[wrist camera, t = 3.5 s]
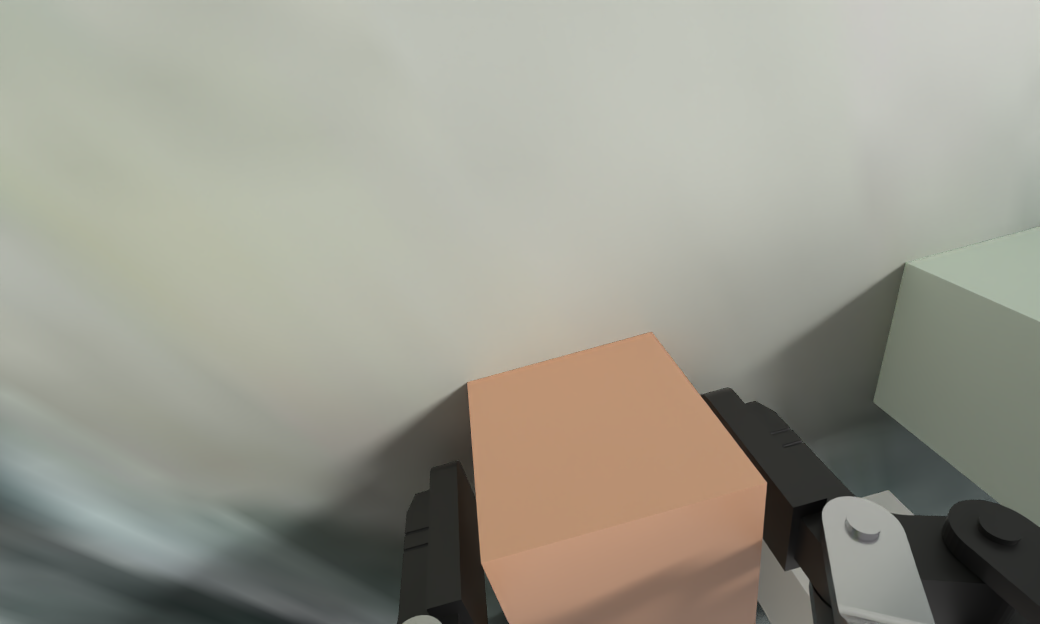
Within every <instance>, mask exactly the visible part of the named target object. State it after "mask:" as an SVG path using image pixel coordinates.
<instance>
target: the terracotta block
mask: <svg viewBox="0 0 1040 624" xmlns="http://www.w3.org/2000/svg"><path fill="white" fill-rule="evenodd" d="M467 387H468V400H469V413H470V426H471V439H472V452H473V465H474V478H475V491H476V504H477V517H478V530H479V543H480V556H481V564H482V566H483V569H484V571H485V573H486V575H487V577H488V579H489V581H490V584H491V586H492V588H493V590H494V592H495V594H496V597H497V599H498V601H499V603H500V605H501V607H502V609H503V612H504V614H505V616H506V618H507V620H508V622H509V624H755V622H756V610H757V598H758V586H759V574H760V562H761V550H762V538H763V526H764V514H765V502H766V490H767V482H766V481H765V479H764V478H763V477H762V475H761V474H760V473H759V471H758V470H757V469H756V468H755V466H754V465H753V464H752V462H751V461H750V460H749V458H748V457H747V456H746V454H745V453H744V452H743V451H742V449H741V448H740V447H739V445H738V444H737V443H736V441H735V440H734V439H733V437H732V436H731V435H730V434H729V432H728V431H727V430H726V428H725V427H724V426H723V424H722V423H721V422H720V420H719V419H718V418H717V417H716V415H715V414H714V413H713V411H712V410H711V409H710V407H709V406H708V405H707V403H706V402H705V401H704V400H703V398H702V397H701V396H700V394H699V393H698V392H697V390H696V389H695V388H694V386H693V385H692V384H691V383H690V381H689V380H688V379H687V377H686V376H685V375H684V373H683V372H682V371H681V369H680V368H679V367H678V366H677V364H676V363H675V362H674V360H673V359H672V358H671V356H670V355H669V354H668V352H667V351H666V350H665V349H664V347H663V346H662V345H661V343H660V342H659V341H658V339H657V338H656V337H655V335H654V334H653V333H652V332H649V333H646V334H642V335H638V336H635V337H631V338H627V339H624V340H620V341H616V342H613V343H609V344H605V345H602V346H598V347H594V348H591V349H587V350H583V351H580V352H576V353H572V354H569V355H565V356H561V357H558V358H554V359H550V360H547V361H543V362H539V363H536V364H532V365H528V366H525V367H521V368H518V369H514V370H510V371H507V372H503V373H499V374H496V375H492V376H488V377H485V378H481V379H477V380H474V381H470V382H467Z"/></svg>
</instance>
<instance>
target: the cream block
mask: <svg viewBox="0 0 1040 624" xmlns="http://www.w3.org/2000/svg"><path fill="white" fill-rule="evenodd" d="M862 498H863V499H866V500H869V501H872V502H874V503H876V504H878V505H880V506H882V507H883V508H885V509H886V510H888V511H889V512H890V513H894V514H901V515H914V514H913V513H912V512H911V511H910V510H908V509H907V508H906V507H905V506H904V505H903V504H902V503H901V502H900V501H899V500H898V499H897V498H896V497H895V496H894V495H893V494H892V493H891V492H890V491H889V490H887V491H883V492H880V493H876V494H873V495H869V496H866V497H862ZM809 581H810V580H809V579H808V577H807V576H806V575H805V573H804V572H803V570H802V569H801V567H799V568H796V569H792V570H789V571H784V570H783V568H782V567H781V565H780V564H779V562H778V561H777V559H776V558H775V556H774V555H773V553H772V552H771V550H770V549H769V547H768V546H767V544H766V543H765V541H764V540H763V538H762V550H761V562H760V574H759V586H758V598H757V600H758V602H759V603H760V605H761V607H762V608H763V610H764V612H765V614H766V615H767V617H768V619H769V621H770V622H771V624H813V616H812V609H811V602H810V594H809Z"/></svg>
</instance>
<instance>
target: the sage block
mask: <svg viewBox="0 0 1040 624" xmlns="http://www.w3.org/2000/svg"><path fill="white" fill-rule="evenodd" d="M873 403H875V404H876V405H877V406H878V407H880V408H881V409H882V410H883V411H885V412H886V413H887V414H888V415H890V416H891V417H892V418H893V419H895V420H896V421H897V422H898V423H900V424H901V425H902V426H904V427H905V428H906V429H907V430H909V431H910V432H911V433H912V434H914V435H915V436H916V437H917V438H919V439H920V440H921V441H922V442H924V443H925V444H926V445H927V446H929V447H930V448H931V449H932V450H934V451H935V452H936V453H937V454H939V455H940V456H941V457H942V458H944V459H945V460H946V461H947V462H949V463H950V464H951V465H952V466H954V467H955V468H956V469H957V470H959V471H960V472H961V473H962V474H964V475H965V476H966V477H967V478H969V479H970V480H971V481H972V482H974V483H975V484H976V485H977V486H979V487H980V488H981V489H982V490H984V491H985V492H986V493H987V494H989V495H990V496H991V497H992V498H994V499H995V500H996V501H997V502H999V503H1000V504H1001V505H1002V506H1005V507H1007V508H1010V509H1012V510H1014V511H1016V512H1018V513H1020V514H1021V515H1023V516H1024V517H1026V518H1027V519H1029V520H1030V521H1032V522H1033V523H1035V524H1036V525H1037V526H1039V527H1040V226H1039V227H1035V228H1032V229H1028V230H1024V231H1021V232H1017V233H1013V234H1010V235H1006V236H1002V237H998V238H995V239H991V240H987V241H984V242H980V243H976V244H972V245H969V246H965V247H961V248H958V249H954V250H950V251H946V252H943V253H939V254H935V255H932V256H928V257H924V258H921V259H917V260H913V261H909V262H906V264H905V268H904V272H903V277H902V281H901V285H900V289H899V294H898V298H897V302H896V306H895V311H894V315H893V319H892V323H891V328H890V332H889V336H888V340H887V345H886V349H885V353H884V357H883V362H882V366H881V370H880V374H879V379H878V383H877V387H876V391H875V396H874V400H873Z"/></svg>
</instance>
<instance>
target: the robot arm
mask: <svg viewBox="0 0 1040 624" xmlns="http://www.w3.org/2000/svg"><path fill="white" fill-rule="evenodd" d="M700 396H701V397H702V398H703V400H704V401H705V402H706V403H707V405H708V406H709V407H710V409H711V410H712V411H713V413H714V414H715V415H716V417H717V418H718V419H719V420H720V422H721V423H722V424H723V426H724V427H725V428H726V430H727V431H728V432H729V434H730V435H731V436H732V437H733V439H734V440H735V441H736V443H737V444H738V445H739V447H740V448H741V449H742V451H743V452H744V453H745V454H746V456H747V457H748V458H749V460H750V461H751V462H752V464H753V465H754V466H755V468H756V469H757V470H758V471H759V473H760V474H761V475H762V477H763V478H764V479H765V481H766V482H767V490H766V502H765V514H764V526H763V540H764V541H765V543H766V544H767V546H768V547H769V549H770V550H771V552H772V553H773V555H774V556H775V558H776V559H777V561H778V562H779V564H780V565H781V567H782V568H783V570H784V571H789V570H792V569H796V568H799V567H801V569H802V570H803V572H804V573H805V575H806V576H807V577H808V579H809V580H810V581H809V594H810V602H811V609H812V616H813V624H1040V527H1039V526H1037V525H1036V524H1035V523H1033V522H1032V521H1030V520H1029V519H1027V518H1026V517H1024V516H1023V515H1021V514H1020V513H1018V512H1016V511H1014V510H1012V509H1010V508H1007V507H1005V506H1002V505H999V504H997V503H993V502H989V501H983V500H965V501H961V502H958V503H956V504H955V505H953V506H952V507H951V509H950V511H949V513H948V516H921V515H901V514H894V513H890V512H889V511H888V510H886V509H885V508H883V507H882V506H880V505H878V504H876V503H874V502H872V501H869V500H866V499H863V498H859V497H856V496H855V495H853V494H852V493H851V492H850V491H849V490H848V489H847V488H846V487H845V486H844V485H843V484H842V483H841V481H840V480H839V479H838V478H837V477H836V476H835V475H834V474H833V473H832V472H831V471H830V470H829V469H828V468H827V467H826V466H825V464H824V463H823V462H822V461H821V460H820V459H819V458H818V457H817V456H816V455H815V454H814V453H813V452H812V451H811V450H810V448H809V447H808V446H807V445H806V444H805V443H802V441H801V439H800V438H799V437H798V436H797V435H796V434H795V433H794V431H793V430H792V431H791V430H790V427H789V426H788V425H787V424H786V423H785V422H784V421H783V420H782V419H781V418H780V417H779V416H778V414H777V413H776V412H774V411H772V410H771V409H769V408H767V407H765V406H763V405H762V404H760V403H758V402H756V401H753V402H750V403H746V404H745V403H744V402H743V401H742V400H741V399H740V397H739V396H738V395H737V394H736V393H735V392H734V391H733V390H732V389H731V388H728V387H727V388H723V389H720V390H716V391H712V392H709V393H705V394H701V395H700ZM405 534H406V537H405V540H404V554H403V566H402V578H401V591H400V603H399V615H398V622H397V624H488V618H487V605H486V593H485V580H484V569H483V566H482V564H481V556H480V543H479V530H478V517H477V504H476V499H475V496H474V494H473V491H472V489H471V487H470V484H469V482H468V480H467V477H466V475H465V472H464V470H463V468H462V465H461V463H460V462H459V461H455V462H452V463H448V464H444V465H441V466H437V467H433V468H431V471H430V490H428V491H424V492H421V493H417V494H415V497H414V499H413V501H412V503H411V505H410V507H409V509H408V511H407V515H406V528H405Z"/></svg>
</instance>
